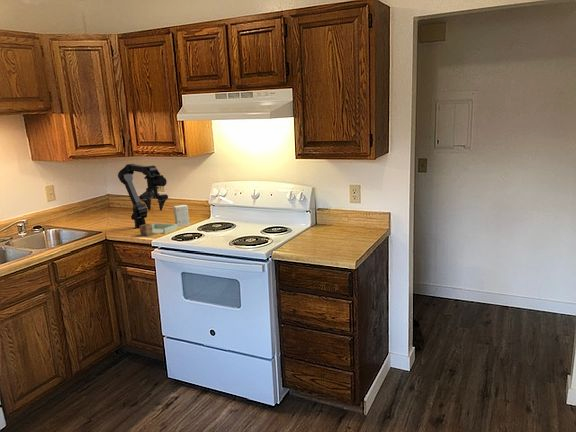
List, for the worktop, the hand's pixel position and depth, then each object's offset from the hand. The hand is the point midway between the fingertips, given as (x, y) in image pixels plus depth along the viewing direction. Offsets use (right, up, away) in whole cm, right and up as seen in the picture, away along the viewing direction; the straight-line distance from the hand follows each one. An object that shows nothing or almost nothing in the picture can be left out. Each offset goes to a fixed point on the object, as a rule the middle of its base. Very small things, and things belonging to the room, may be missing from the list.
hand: (155, 210), depth 297 cm
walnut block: (-2, -15, -12) cm, 19 cm away
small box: (+15, -10, +11) cm, 21 cm away
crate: (+3, -13, -1) cm, 13 cm away
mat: (-2, -15, -12) cm, 19 cm away
